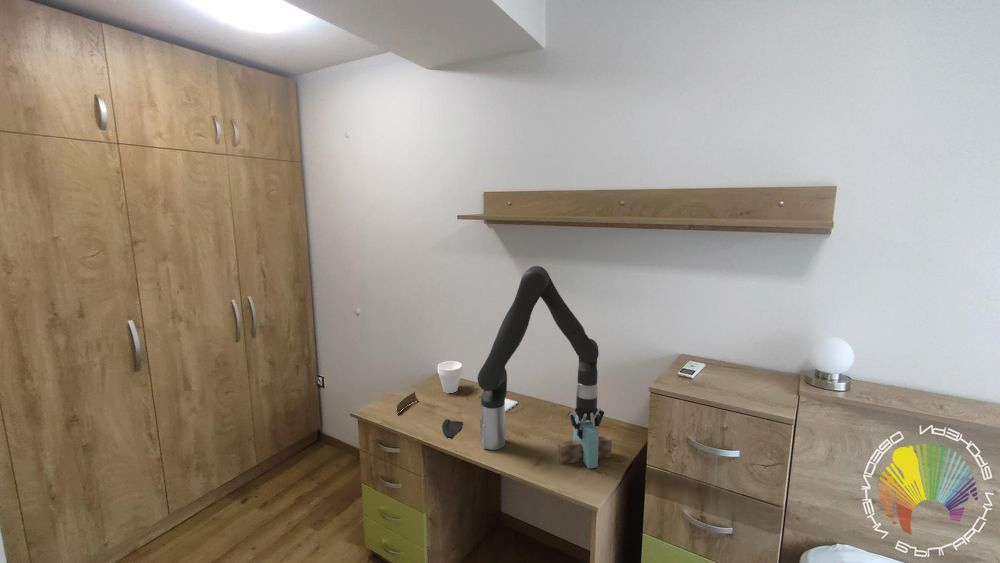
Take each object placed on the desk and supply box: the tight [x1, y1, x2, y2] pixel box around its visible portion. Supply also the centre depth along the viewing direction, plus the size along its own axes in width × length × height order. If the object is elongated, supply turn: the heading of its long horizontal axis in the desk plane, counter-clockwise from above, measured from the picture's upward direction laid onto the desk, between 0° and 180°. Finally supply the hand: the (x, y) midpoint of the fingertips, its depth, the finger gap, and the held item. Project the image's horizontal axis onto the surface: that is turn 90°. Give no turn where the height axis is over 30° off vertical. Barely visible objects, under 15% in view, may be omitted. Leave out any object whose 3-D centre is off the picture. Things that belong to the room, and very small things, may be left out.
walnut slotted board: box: [557, 435, 613, 465], centre depth 165 cm, size 20×3×7 cm, turn 104°
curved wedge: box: [441, 418, 464, 439], centre depth 187 cm, size 8×14×2 cm, turn 173°
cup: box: [437, 360, 463, 394], centre depth 223 cm, size 12×12×14 cm
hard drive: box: [505, 397, 519, 413], centre depth 207 cm, size 2×8×12 cm
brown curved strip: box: [396, 391, 419, 414], centre depth 206 cm, size 15×2×5 cm, turn 157°
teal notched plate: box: [572, 415, 600, 469], centre depth 165 cm, size 14×4×14 cm, turn 14°
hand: (585, 436), depth 164 cm, fingers closed on teal notched plate, 3 cm apart
